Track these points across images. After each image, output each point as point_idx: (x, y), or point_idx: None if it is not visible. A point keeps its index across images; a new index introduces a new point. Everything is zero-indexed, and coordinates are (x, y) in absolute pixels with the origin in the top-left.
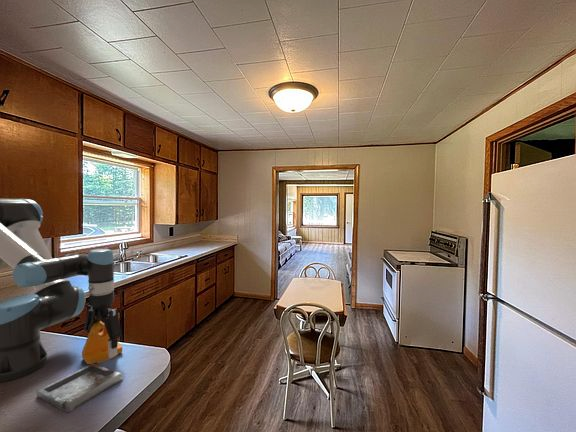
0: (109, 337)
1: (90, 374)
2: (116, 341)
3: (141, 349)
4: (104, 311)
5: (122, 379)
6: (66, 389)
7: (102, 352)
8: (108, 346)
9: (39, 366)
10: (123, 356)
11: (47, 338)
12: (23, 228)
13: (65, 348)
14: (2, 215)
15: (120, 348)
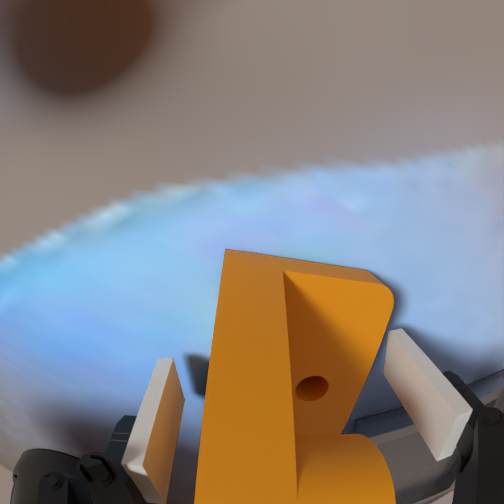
0: (459, 468)
1: (402, 438)
2: (474, 402)
3: (431, 164)
4: None
5: None
6: (397, 483)
7: (331, 402)
8: (419, 424)
9: (144, 499)
10: (405, 283)
11: None
12: None
13: (12, 386)
14: None
15: (389, 302)
